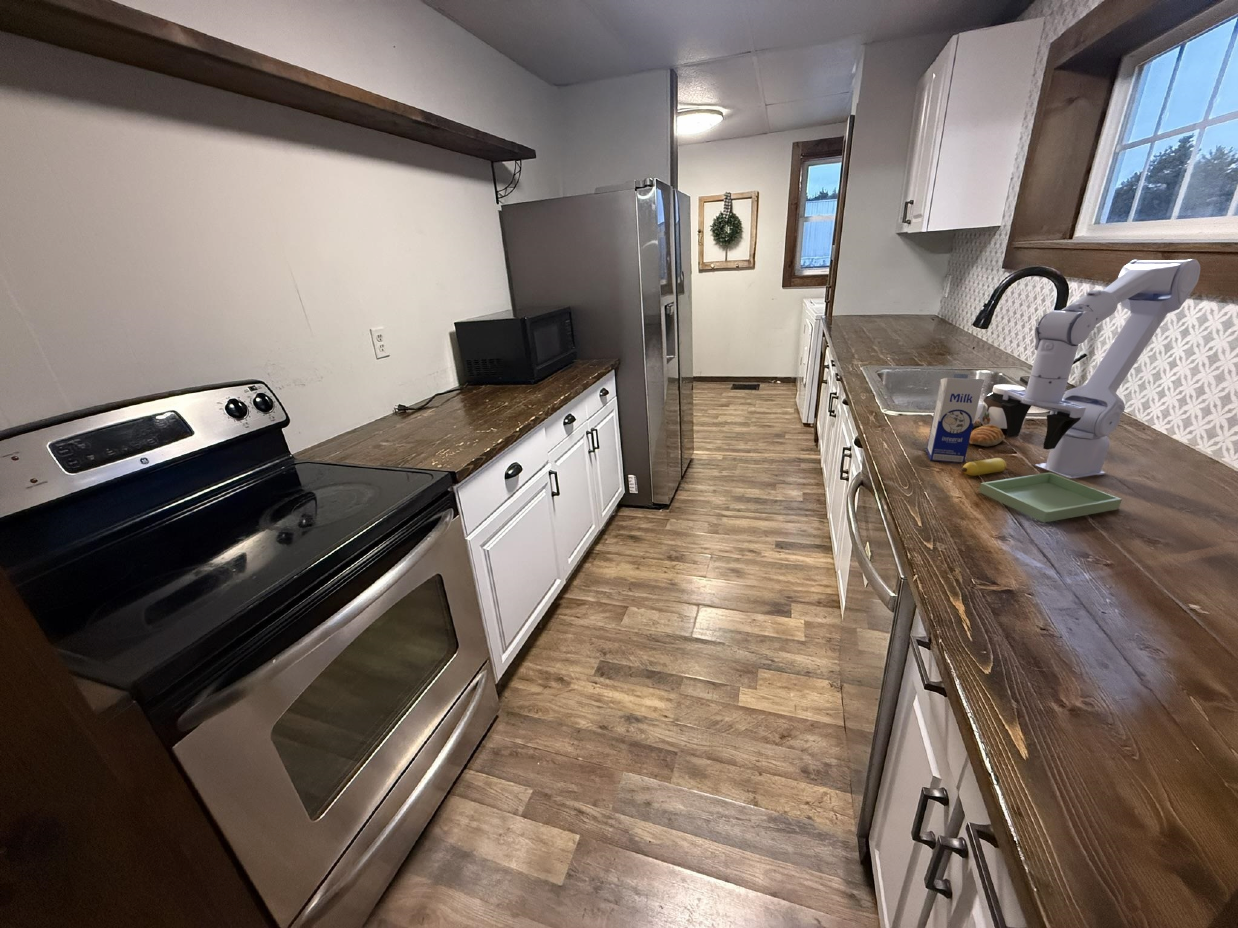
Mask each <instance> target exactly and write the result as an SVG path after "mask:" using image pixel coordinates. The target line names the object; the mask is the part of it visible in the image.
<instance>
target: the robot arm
mask: <svg viewBox="0 0 1238 928" xmlns="http://www.w3.org/2000/svg"><path fill="white" fill-rule="evenodd" d="M1200 273H1201V264H1200V263H1199V261H1198V260H1197V259H1195V258H1192V259H1191V258H1190V259H1178V260H1177V259H1175V260H1169V259H1168V260H1165V259H1164V260H1161V259H1160V260H1141V259H1133V260H1131V261H1129V262H1128V263H1127V264H1126V265H1123V266H1122V268H1121V270H1120V272H1119V274H1118V277H1117V278H1116V279H1115V280H1114V281H1112V282H1111V283H1110V284H1109V285H1107V286H1106V287H1104V289H1090V290H1089V291H1087V292H1086V294H1084V295H1083V296H1081V297H1079V298H1078V299H1076V300H1075V301H1073V302H1072V303H1071V304H1069V305H1067V306H1066V307H1063V308H1062V309H1060V310H1051V311H1049V312H1047V313H1045V314H1044V315H1042V316H1041V318H1040V319H1039V321H1038V322H1037V325H1036V326H1035V327H1034V338H1035V343H1034V351H1036V353H1035V357H1034V359H1033V363H1032V368H1031V371H1030V375H1029V379H1028V382H1027V385H1026V388H1025V392H1024V391H1018V390H1013V389H1011V390H1005V391H1004V395H1003V399H1004V400H1008V401H1007V402H1006V403H1002V405H1001V407H1002V409H1003V411H1004V414H1005V417H1006V423H1007V433H1006V436H1007V438H1013V437H1014V438H1015V437H1018V436H1020V433H1021V431H1022V428H1023V426H1022V424H1023V421H1024V419H1025V420H1026V418H1025V416H1026V417H1027V415H1026V414H1028V412H1029V411H1030V409H1031V408H1032V407H1035V408H1038V409H1042V410H1047V411H1050V412H1049V414H1047V415H1046V433H1045V436H1044V441H1043V444H1042V445H1043V447H1042V449H1044V450H1046V451H1047V450H1049V453H1048V456H1047V459H1046V462H1042V463H1036V464H1035V467H1039V468H1041V469H1044V470H1047V471H1049V472H1051V473H1054V474H1057V475H1059V476H1062V477H1065V478H1067V479H1078V478H1084V477H1090V476H1103V475H1106V472H1105V471H1103V470H1102V469H1103V466H1104V463H1105V461H1106V458H1107V455H1108V452H1109V449H1110V446H1111V444H1110V443H1111V442H1110V439H1109V437H1108V436H1109V435H1111V434H1112V433H1113V432H1114V431H1115V430H1116V429H1117V427H1118V426H1119V424H1120V422H1121V417H1122V415H1123V414H1124V412H1125V409H1126V404H1125V403H1124V401H1123V400H1122V398H1121V397H1120V396H1119V395H1118V393H1117V392H1118V390H1119V388H1120V387H1121V386H1122V384H1123V383H1124V381H1125V380H1126V378H1127V377H1128V375H1129V373H1130V372H1131V370H1132V368H1133V367H1134V366H1135V364H1136V362H1137V361H1138V359H1140V357H1141V356H1142V353H1143V352H1144V350H1145V349H1146V347H1147V346H1148V345H1149V343H1150V342H1151V340H1152V339H1153V337H1154V336H1155V334H1156V332H1157V331H1158V329H1159V328H1160V326H1161V324H1162V323H1163V321H1164V320H1165V318H1166V317H1167V315H1168V314H1170V313H1173V312H1175V311H1178V310H1181V308H1182V306H1183V304H1184V303H1186V301H1187V300H1188V298H1189V296H1190V295H1191V293H1192V292H1193V290H1194V289H1195V287H1196V286H1197V285H1198V282H1199V279H1200ZM1119 304H1121V307H1122V308H1123V309H1126V310H1128V311H1129V312H1130V315H1129V316H1128V317H1127V319H1126V321H1125V322H1124V323H1123V325H1122V327H1121V329H1120V330H1119V331H1118V333H1117V335H1116V336H1115V337H1114V339H1113V341H1112V342H1111V344H1110V345H1109V348H1107V350H1106V352H1105V354H1104V355H1103V357H1102V358H1101V360H1100V361H1099V362H1098V364H1097V366H1096V368H1095V369H1094V370H1093V372H1092V373H1091V375H1090V376H1089V378H1088V380H1087V381H1086V383H1085V384H1082V385H1080V386H1076V387H1073V388H1070V389H1068V390H1066V388H1067V385H1068V381H1069V379H1070V375H1071V372H1072V368H1073V365H1074V361H1075V358H1076V355H1077V352H1078V348H1079V346H1080V345H1081V344H1083V343H1085V342H1086V340H1087V339H1088V338H1089V336H1091V333H1092V332H1093V331H1095V329H1096V328H1097V325H1098V324H1100V323H1102V322H1103V321H1105V320H1107V319H1108V318H1110V317H1111V316H1112V315H1114V313H1115V312H1116V311H1117V309H1118V305H1119ZM1023 425H1024V424H1023ZM1021 427H1022V428H1021Z"/></svg>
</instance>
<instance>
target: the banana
mask: <svg viewBox="0 0 1238 928" xmlns="http://www.w3.org/2000/svg"><path fill="white" fill-rule="evenodd" d="M1006 469H1007V462H1006V461H1005V460H1004V459H1003V458H1001V457H994V458H993V457H992V458H987V459H986V458H985V459H981V460H973V461H968V462H966V463H964V465H962V468H961V472H963V473H964V474H965V475H967V476H971V477H973V476H981V475H988V474H994V473H1000V472H1001V473H1002V472H1004V471H1005V470H1006Z"/></svg>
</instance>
